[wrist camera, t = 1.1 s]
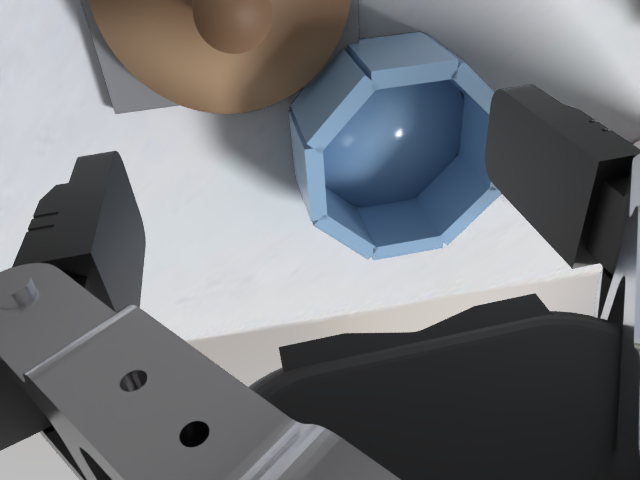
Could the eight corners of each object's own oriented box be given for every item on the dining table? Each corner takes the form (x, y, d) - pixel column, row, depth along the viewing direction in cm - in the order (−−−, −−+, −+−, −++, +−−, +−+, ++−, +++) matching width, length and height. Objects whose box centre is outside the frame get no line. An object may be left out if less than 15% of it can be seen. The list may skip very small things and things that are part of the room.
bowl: (282, 49, 28) (298, 81, 24) (480, 24, 30) (526, 50, 26) (300, 223, 35) (315, 270, 31) (462, 195, 36) (496, 237, 32)
